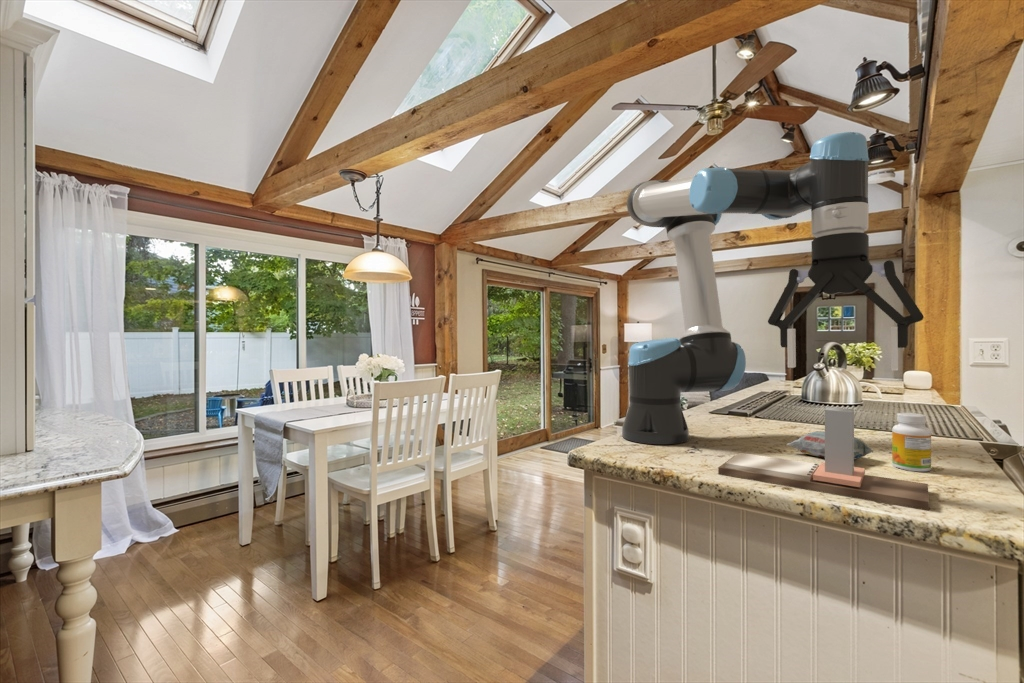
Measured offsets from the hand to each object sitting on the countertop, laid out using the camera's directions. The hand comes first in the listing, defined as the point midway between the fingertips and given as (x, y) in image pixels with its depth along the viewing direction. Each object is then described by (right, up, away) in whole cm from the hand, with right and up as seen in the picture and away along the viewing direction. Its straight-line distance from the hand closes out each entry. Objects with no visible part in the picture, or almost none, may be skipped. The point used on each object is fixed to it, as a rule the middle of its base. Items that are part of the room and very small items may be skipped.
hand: (840, 368), depth 77 cm
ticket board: (-2, -19, +3) cm, 19 cm away
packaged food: (+10, -19, +18) cm, 28 cm away
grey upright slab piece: (0, -17, +1) cm, 17 cm away
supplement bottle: (+20, -19, +10) cm, 29 cm away
